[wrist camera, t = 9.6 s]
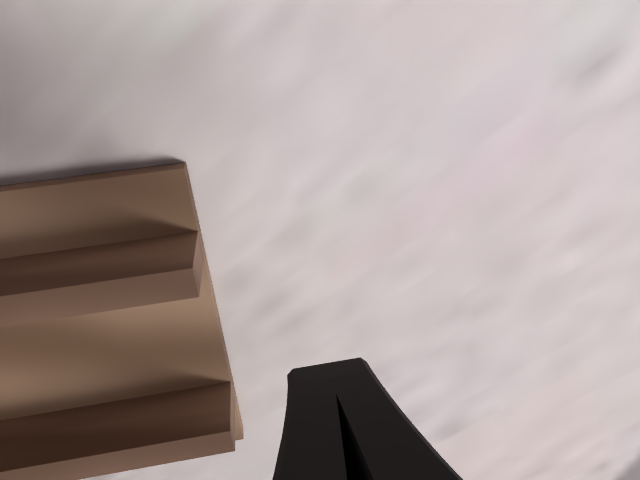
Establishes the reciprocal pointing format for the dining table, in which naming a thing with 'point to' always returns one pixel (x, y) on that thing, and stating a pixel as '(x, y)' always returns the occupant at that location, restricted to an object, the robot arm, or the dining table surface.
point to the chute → (108, 328)
